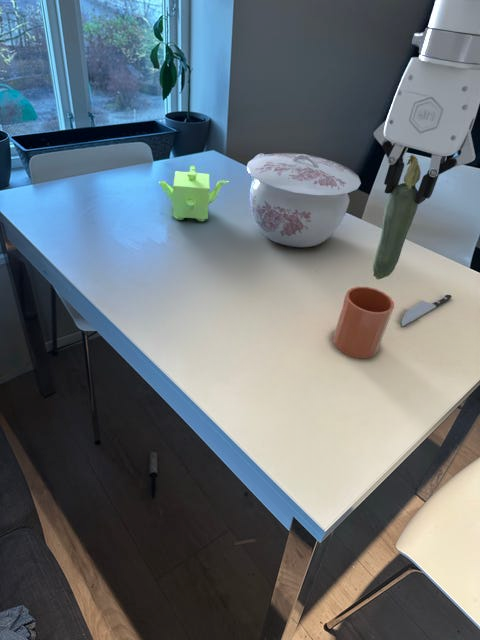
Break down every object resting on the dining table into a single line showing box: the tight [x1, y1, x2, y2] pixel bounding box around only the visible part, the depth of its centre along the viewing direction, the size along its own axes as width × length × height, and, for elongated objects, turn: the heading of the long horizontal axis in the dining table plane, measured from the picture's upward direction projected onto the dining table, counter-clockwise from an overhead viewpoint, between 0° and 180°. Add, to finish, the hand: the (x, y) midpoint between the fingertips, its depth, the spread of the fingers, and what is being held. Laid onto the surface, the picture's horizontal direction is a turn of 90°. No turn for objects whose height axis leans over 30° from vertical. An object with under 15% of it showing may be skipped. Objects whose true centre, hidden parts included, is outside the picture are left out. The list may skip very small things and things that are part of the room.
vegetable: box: [372, 154, 422, 281], centre depth 67 cm, size 4×4×20 cm
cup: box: [332, 286, 395, 359], centre depth 80 cm, size 8×8×10 cm
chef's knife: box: [400, 294, 453, 327], centre depth 94 cm, size 19×1×3 cm
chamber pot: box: [246, 152, 362, 248], centre depth 111 cm, size 28×28×21 cm
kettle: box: [158, 164, 230, 222], centre depth 117 cm, size 15×14×11 cm
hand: (405, 194), depth 65 cm, fingers closed on vegetable, 3 cm apart
